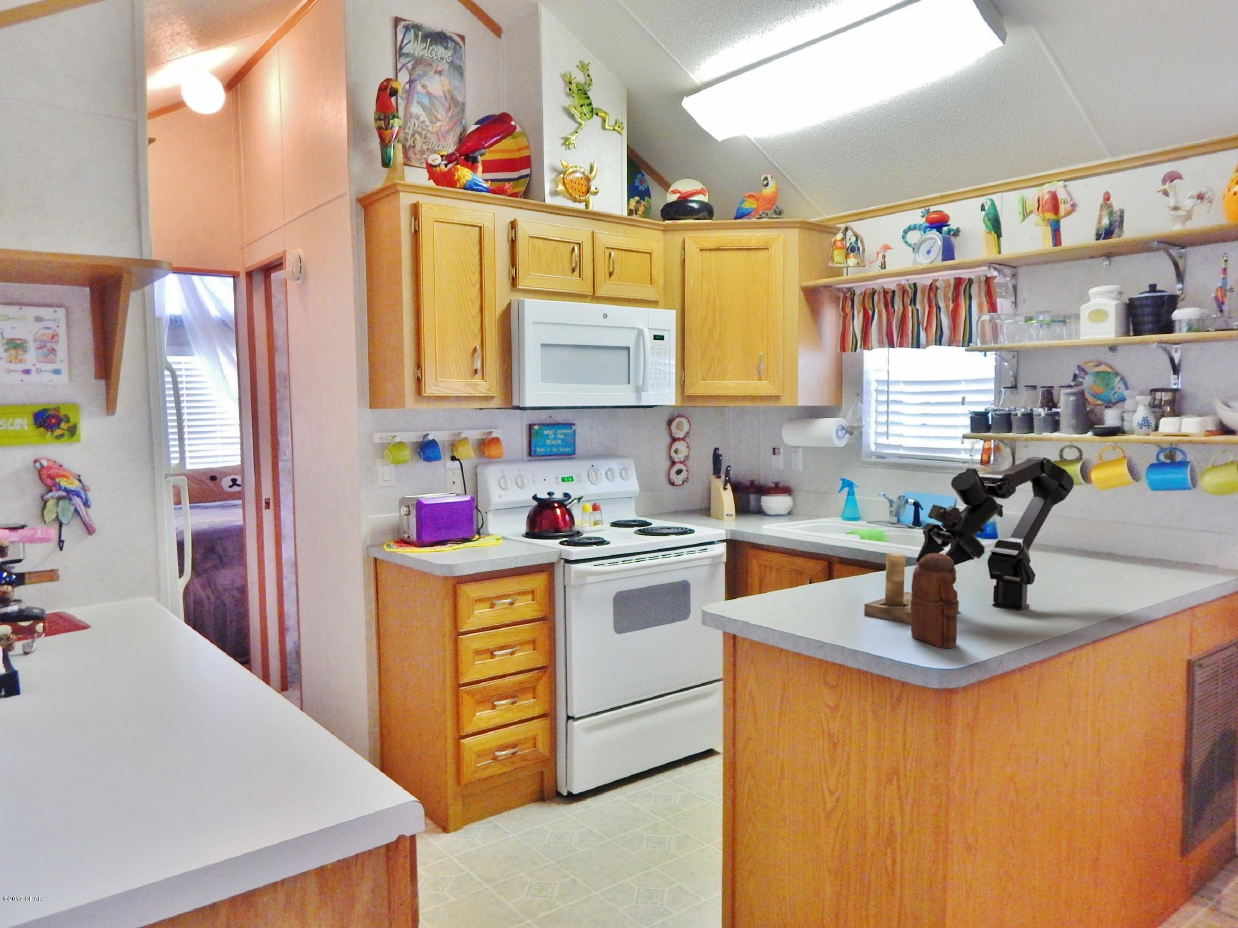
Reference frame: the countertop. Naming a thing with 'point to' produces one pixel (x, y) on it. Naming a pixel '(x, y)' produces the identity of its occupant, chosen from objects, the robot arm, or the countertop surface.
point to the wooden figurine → (934, 601)
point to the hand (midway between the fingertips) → (927, 565)
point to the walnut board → (892, 609)
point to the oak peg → (894, 580)
